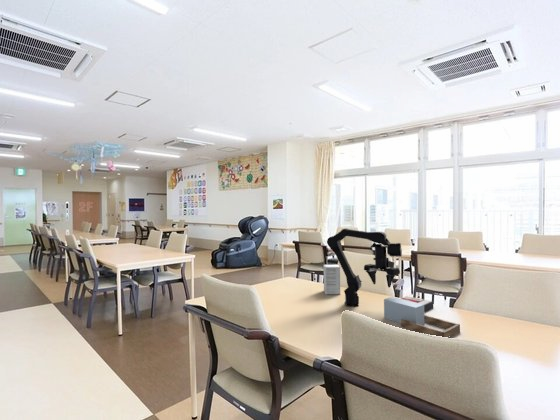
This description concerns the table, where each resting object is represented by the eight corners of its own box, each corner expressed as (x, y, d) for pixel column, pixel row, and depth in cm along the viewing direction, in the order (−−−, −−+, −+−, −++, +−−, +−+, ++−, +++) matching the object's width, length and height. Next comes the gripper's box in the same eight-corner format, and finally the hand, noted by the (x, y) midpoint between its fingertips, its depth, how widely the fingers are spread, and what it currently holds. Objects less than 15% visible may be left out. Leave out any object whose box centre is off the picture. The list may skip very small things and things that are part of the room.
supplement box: (340, 294, 186) (340, 267, 186) (325, 294, 186) (325, 267, 186) (337, 290, 196) (337, 264, 196) (323, 290, 196) (323, 264, 196)
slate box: (384, 318, 146) (383, 299, 146) (392, 314, 150) (392, 296, 150) (416, 328, 133) (415, 307, 133) (424, 324, 137) (424, 304, 137)
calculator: (406, 295, 171) (433, 300, 159) (406, 303, 171) (433, 308, 159) (395, 299, 164) (423, 304, 153) (396, 307, 164) (423, 313, 152)
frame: (401, 326, 135) (401, 319, 135) (417, 319, 143) (417, 312, 143) (443, 340, 120) (443, 332, 120) (460, 331, 129) (459, 324, 129)
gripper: (405, 256, 156) (407, 286, 156) (376, 252, 172) (377, 280, 171) (392, 258, 150) (393, 290, 150) (362, 254, 165) (363, 283, 165)
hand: (381, 285), depth 159 cm, fingers open, 9 cm apart
